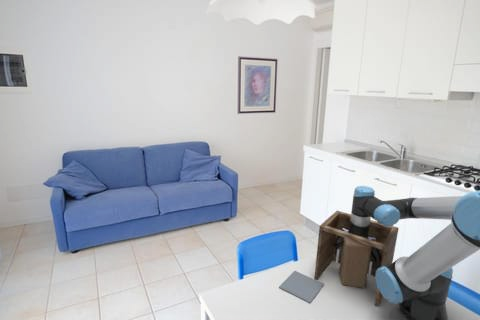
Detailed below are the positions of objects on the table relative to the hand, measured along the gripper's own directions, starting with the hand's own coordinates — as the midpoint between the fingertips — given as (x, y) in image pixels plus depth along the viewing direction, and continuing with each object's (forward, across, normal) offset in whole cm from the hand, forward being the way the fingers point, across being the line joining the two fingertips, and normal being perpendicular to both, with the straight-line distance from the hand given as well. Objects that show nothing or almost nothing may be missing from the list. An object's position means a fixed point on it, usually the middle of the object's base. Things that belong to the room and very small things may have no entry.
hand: (353, 267), depth 125 cm
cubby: (+6, 0, 0) cm, 6 cm away
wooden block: (+6, 0, 0) cm, 6 cm away
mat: (+6, +15, +18) cm, 24 cm away
